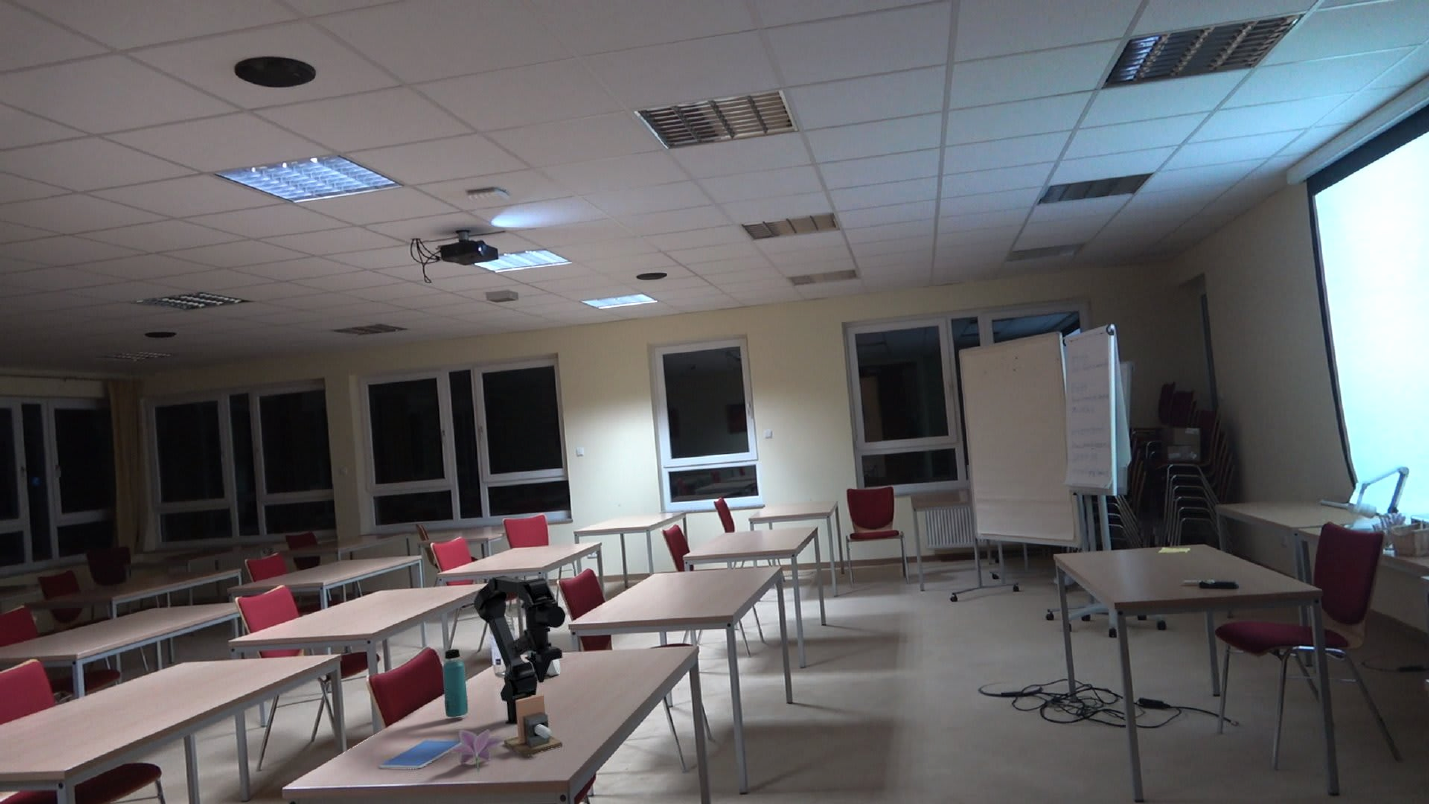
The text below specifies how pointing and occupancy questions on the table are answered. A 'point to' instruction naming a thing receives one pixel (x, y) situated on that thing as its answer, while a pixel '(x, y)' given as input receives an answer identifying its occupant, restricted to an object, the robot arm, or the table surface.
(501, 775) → the table surface
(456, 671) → the beverage bottle
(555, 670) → the spotlight
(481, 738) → the lily
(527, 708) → the salmon pink upright block
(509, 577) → the robot arm
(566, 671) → the table surface
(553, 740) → the tan board
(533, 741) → the charcoal metal brick
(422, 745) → the tablet computer
